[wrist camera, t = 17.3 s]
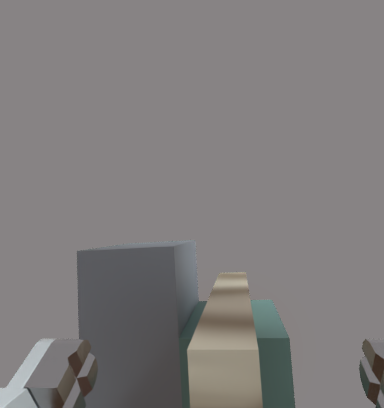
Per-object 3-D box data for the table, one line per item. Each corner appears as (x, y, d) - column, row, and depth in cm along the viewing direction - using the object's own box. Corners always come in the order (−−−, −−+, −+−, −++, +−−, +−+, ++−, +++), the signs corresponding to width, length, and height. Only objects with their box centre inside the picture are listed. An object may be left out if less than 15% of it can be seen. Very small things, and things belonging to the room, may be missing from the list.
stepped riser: (318, 685, 17) (281, 240, 19) (86, 648, 19) (76, 251, 21) (289, 517, 27) (266, 236, 29) (138, 505, 29) (128, 243, 31)
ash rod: (264, 426, 11) (258, 349, 11) (191, 423, 11) (187, 349, 11) (247, 299, 29) (245, 272, 29) (220, 299, 30) (219, 273, 30)
